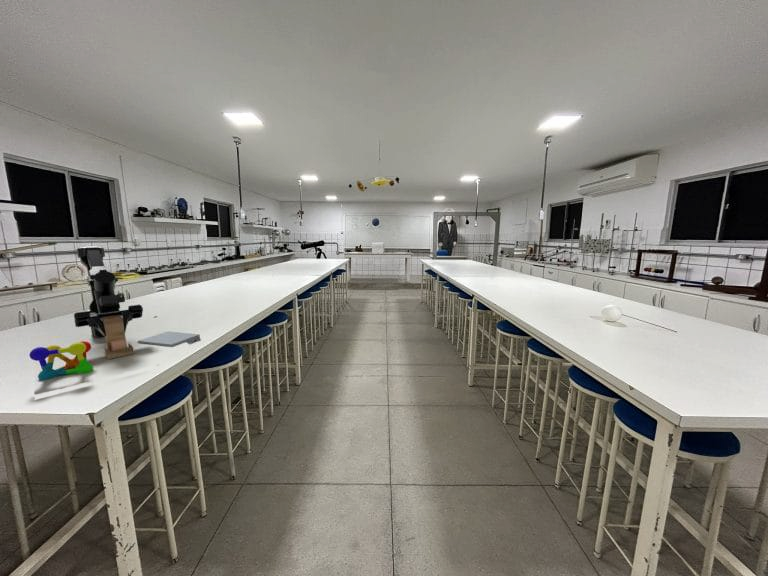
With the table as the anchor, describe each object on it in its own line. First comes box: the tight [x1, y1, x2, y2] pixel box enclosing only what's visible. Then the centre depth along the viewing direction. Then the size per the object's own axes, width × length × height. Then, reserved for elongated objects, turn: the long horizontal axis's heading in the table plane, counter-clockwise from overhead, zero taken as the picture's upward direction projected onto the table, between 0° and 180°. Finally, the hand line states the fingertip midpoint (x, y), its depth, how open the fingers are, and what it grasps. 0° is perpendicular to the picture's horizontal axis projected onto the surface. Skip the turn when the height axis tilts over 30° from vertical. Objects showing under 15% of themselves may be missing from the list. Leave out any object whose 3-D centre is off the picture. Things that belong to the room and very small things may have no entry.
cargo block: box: [110, 339, 127, 351], centre depth 107 cm, size 4×4×4 cm
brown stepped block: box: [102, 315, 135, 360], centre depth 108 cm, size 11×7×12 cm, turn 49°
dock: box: [137, 330, 201, 347], centre depth 124 cm, size 17×13×2 cm
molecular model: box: [29, 340, 94, 381], centre depth 92 cm, size 15×12×15 cm
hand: (115, 333), depth 109 cm, fingers closed on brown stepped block, 5 cm apart
